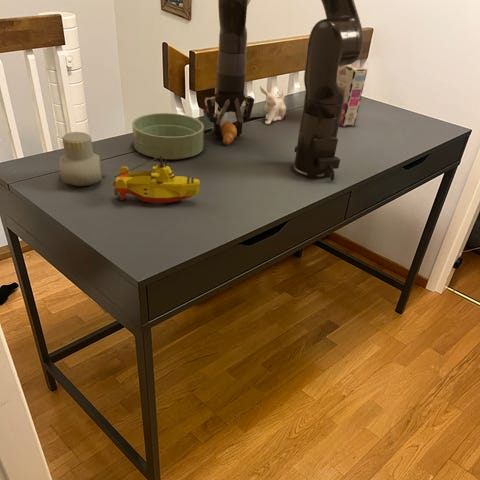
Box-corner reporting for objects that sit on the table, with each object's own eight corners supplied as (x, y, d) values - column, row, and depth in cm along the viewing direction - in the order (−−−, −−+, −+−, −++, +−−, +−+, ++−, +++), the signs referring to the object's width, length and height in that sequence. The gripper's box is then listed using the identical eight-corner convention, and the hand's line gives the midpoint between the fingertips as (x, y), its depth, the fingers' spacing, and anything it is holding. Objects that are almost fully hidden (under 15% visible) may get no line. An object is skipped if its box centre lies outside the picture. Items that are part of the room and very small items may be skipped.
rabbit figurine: (267, 124, 145) (271, 91, 139) (249, 118, 149) (252, 85, 142) (290, 117, 152) (295, 85, 146) (272, 111, 156) (276, 79, 150)
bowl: (212, 158, 122) (213, 135, 118) (141, 164, 116) (140, 139, 112) (192, 133, 134) (192, 111, 131) (127, 137, 129) (125, 114, 125)
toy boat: (117, 192, 104) (112, 147, 97) (199, 195, 105) (200, 151, 99) (113, 206, 99) (107, 159, 92) (199, 209, 100) (200, 163, 94)
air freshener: (101, 191, 103) (96, 146, 97) (62, 192, 102) (53, 146, 95) (102, 170, 111) (97, 127, 105) (65, 171, 110) (57, 127, 103)
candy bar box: (355, 126, 150) (368, 69, 140) (342, 127, 149) (354, 70, 138) (336, 114, 158) (346, 60, 147) (323, 115, 156) (333, 60, 145)
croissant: (228, 131, 138) (228, 115, 135) (241, 145, 131) (242, 129, 128) (211, 132, 137) (211, 116, 134) (224, 146, 129) (224, 130, 126)
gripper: (209, 74, 118) (207, 142, 129) (262, 73, 122) (255, 139, 133) (200, 67, 123) (199, 133, 134) (251, 66, 127) (246, 130, 138)
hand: (227, 136), depth 133 cm, fingers open, 5 cm apart
